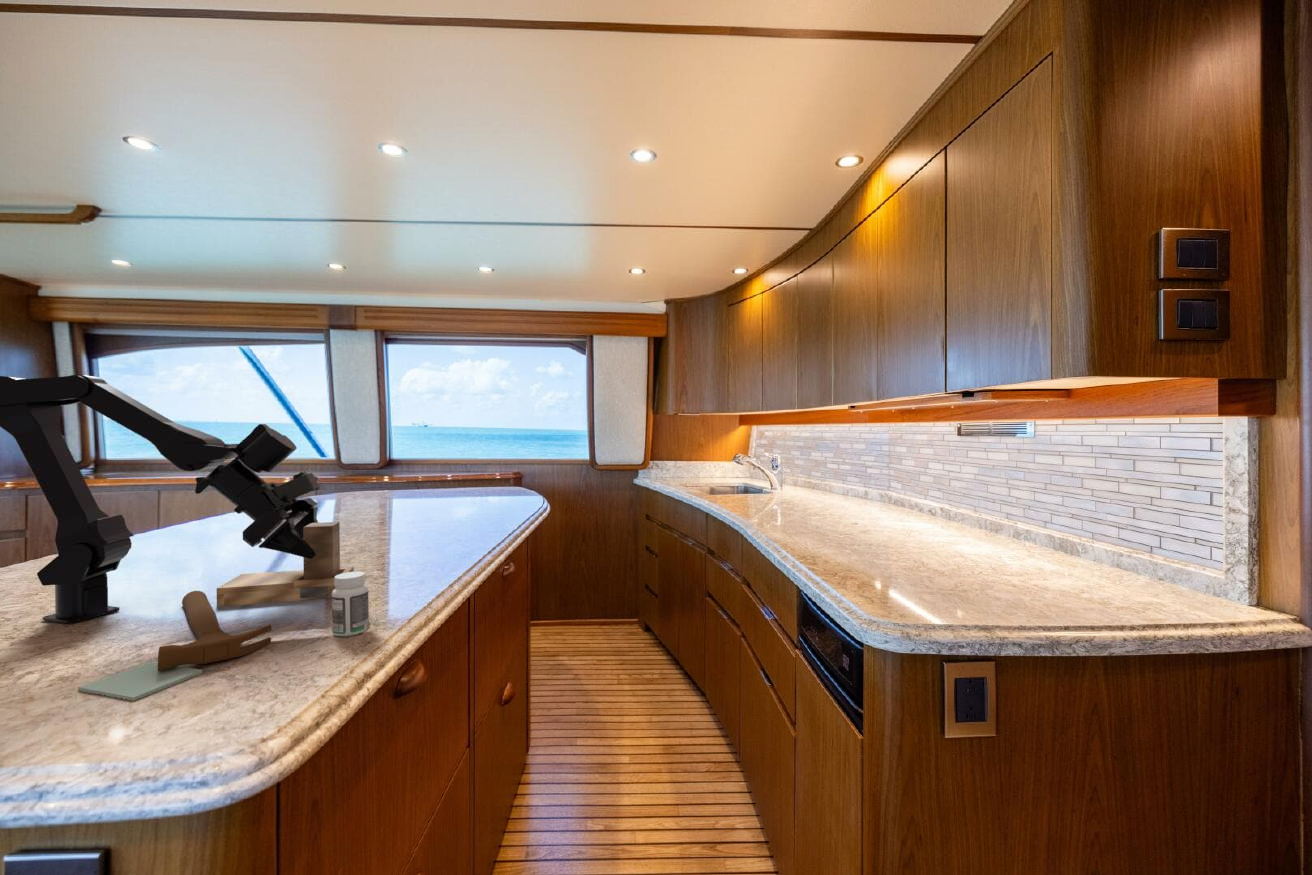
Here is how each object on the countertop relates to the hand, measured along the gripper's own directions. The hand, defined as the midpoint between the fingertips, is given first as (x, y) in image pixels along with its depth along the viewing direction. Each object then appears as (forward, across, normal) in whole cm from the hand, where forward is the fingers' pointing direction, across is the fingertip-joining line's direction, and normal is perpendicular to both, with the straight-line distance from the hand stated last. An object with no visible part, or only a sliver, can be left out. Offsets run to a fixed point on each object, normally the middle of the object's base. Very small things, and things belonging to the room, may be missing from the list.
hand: (322, 550), depth 96 cm
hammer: (-2, -14, +13) cm, 20 cm away
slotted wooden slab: (+2, 0, +9) cm, 10 cm away
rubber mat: (-2, -30, +13) cm, 33 cm away
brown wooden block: (+5, 0, +5) cm, 7 cm away
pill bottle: (+12, -20, 0) cm, 23 cm away
